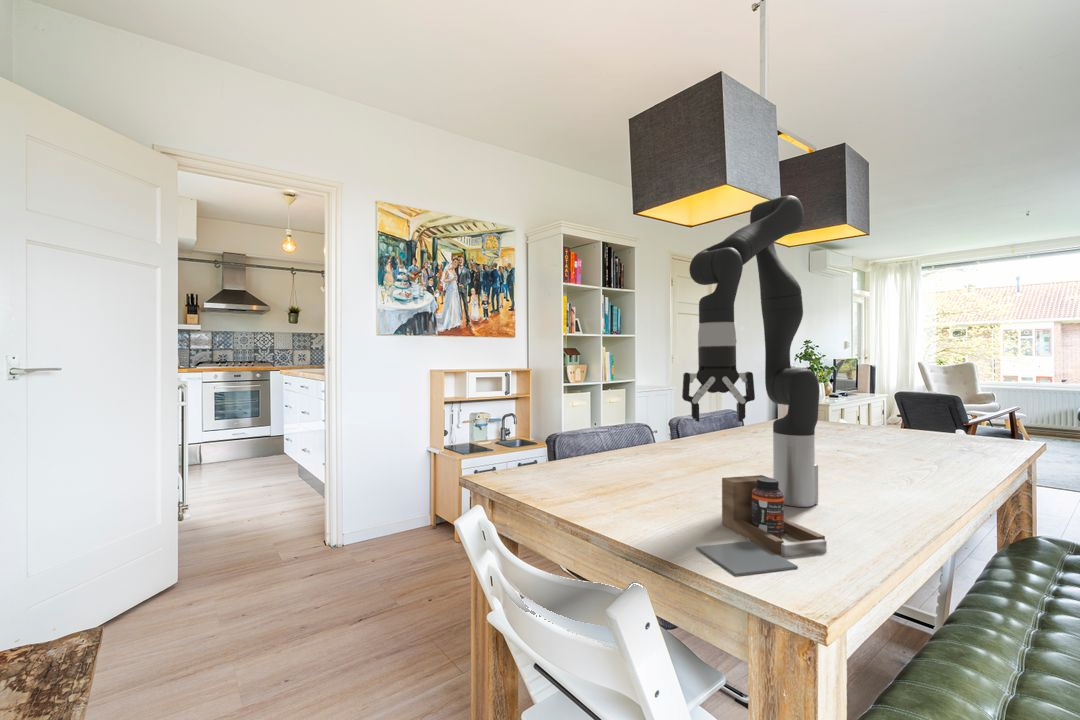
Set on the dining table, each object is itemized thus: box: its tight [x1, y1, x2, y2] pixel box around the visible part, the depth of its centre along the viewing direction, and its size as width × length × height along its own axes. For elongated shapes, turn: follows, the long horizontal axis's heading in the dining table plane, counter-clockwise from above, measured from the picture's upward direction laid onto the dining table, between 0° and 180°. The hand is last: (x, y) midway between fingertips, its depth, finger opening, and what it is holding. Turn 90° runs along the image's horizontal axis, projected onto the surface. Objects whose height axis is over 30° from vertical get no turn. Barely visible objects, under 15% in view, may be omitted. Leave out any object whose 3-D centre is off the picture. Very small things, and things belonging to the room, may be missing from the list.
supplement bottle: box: [751, 476, 785, 539], centre depth 100 cm, size 6×6×11 cm
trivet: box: [695, 540, 799, 577], centre depth 88 cm, size 12×12×1 cm
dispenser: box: [721, 474, 827, 558], centre depth 99 cm, size 11×18×10 cm, turn 14°
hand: (718, 421), depth 104 cm, fingers open, 8 cm apart
